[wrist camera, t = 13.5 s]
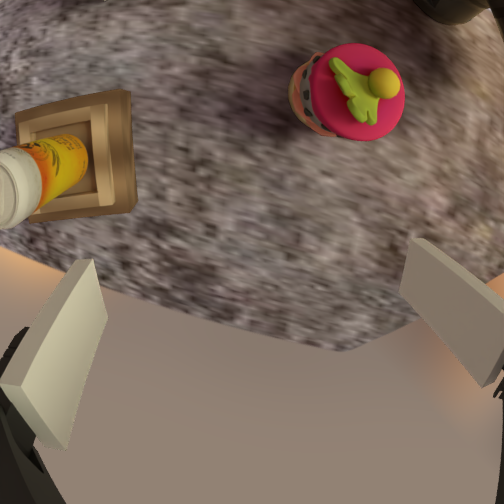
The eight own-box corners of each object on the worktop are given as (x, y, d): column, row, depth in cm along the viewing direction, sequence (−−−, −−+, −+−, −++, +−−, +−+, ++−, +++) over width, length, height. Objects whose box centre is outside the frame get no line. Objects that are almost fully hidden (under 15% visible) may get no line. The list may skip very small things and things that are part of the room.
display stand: (33, 111, 31) (8, 113, 25) (130, 91, 33) (116, 87, 27) (45, 211, 37) (24, 227, 31) (138, 200, 38) (126, 216, 33)
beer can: (91, 131, 29) (18, 151, 16) (91, 185, 32) (26, 236, 18) (45, 134, 28) (-38, 158, 15) (46, 186, 31) (-29, 234, 17)
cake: (323, 41, 33) (382, 12, 19) (375, 99, 37) (448, 102, 23) (267, 92, 35) (303, 81, 22) (325, 150, 39) (383, 173, 26)
